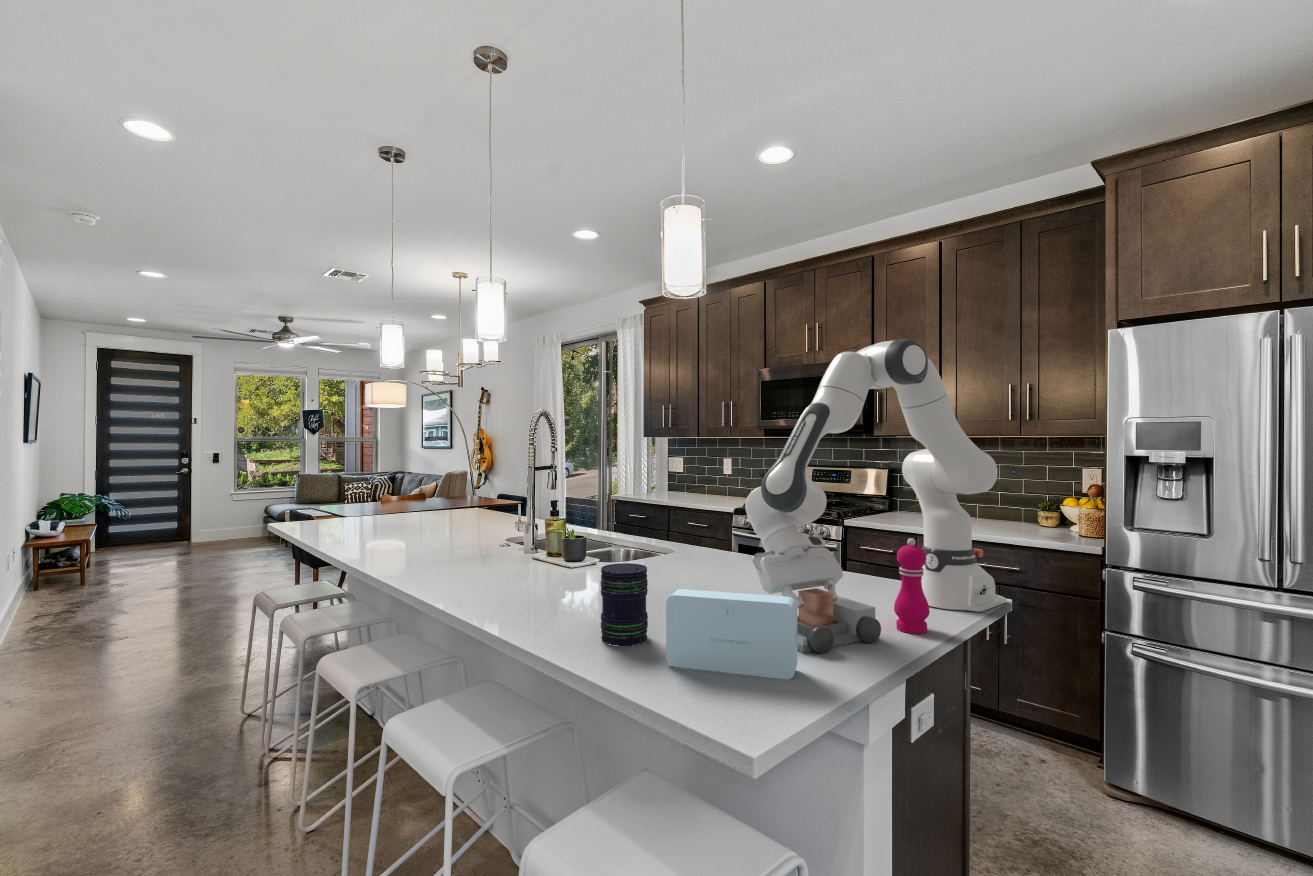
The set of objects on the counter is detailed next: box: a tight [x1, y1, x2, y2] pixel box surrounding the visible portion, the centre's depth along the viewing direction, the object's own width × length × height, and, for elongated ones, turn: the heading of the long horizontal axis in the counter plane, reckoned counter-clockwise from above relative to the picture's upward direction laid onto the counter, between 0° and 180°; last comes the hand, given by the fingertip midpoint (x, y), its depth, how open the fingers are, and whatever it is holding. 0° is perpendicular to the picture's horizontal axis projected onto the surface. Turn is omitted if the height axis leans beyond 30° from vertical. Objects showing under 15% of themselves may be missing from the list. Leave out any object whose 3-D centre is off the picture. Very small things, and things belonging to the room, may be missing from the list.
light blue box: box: [665, 588, 798, 680], centre depth 116 cm, size 23×6×13 cm, turn 72°
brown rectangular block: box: [798, 587, 833, 627], centre depth 134 cm, size 5×5×8 cm
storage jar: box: [600, 562, 649, 647], centre depth 133 cm, size 10×10×15 cm
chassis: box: [797, 595, 882, 655], centre depth 134 cm, size 20×17×6 cm
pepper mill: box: [893, 537, 930, 635], centre depth 139 cm, size 7×7×20 cm
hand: (817, 603), depth 133 cm, fingers open, 8 cm apart
